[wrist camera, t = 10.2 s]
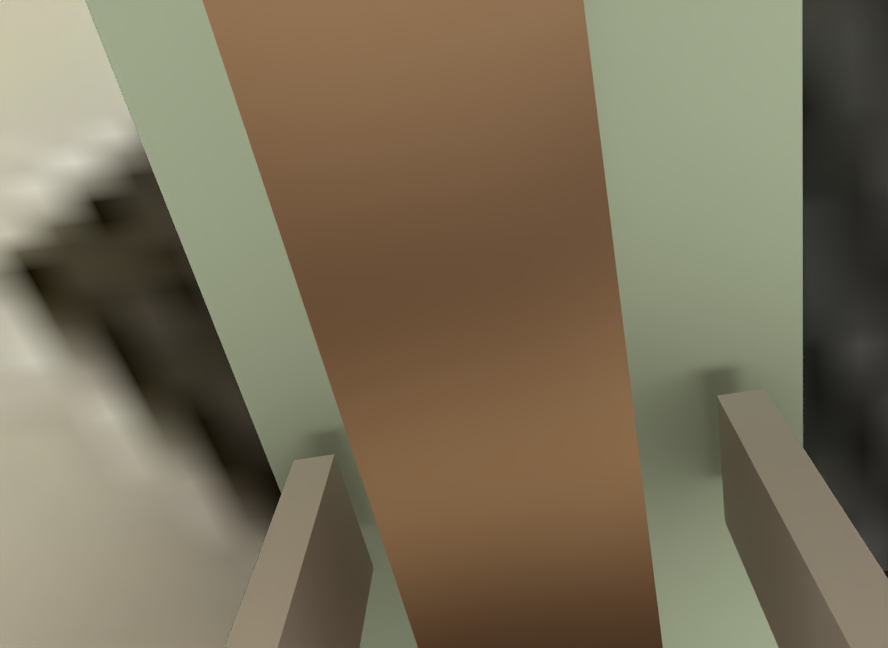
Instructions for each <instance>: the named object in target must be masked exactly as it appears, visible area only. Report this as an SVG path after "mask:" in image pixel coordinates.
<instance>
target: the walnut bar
mask: <svg viewBox="0 0 888 648" xmlns="http://www.w3.org/2000/svg"><path fill="white" fill-rule="evenodd" d="M202 1H203V4H204V7H205V10H206V13H207V16H208V19H209V22H210V25H211V28H212V31H213V34H214V37H215V40H216V43H217V46H218V49H219V52H220V55H221V58H222V61H223V64H224V67H225V70H226V73H227V76H228V79H229V82H230V85H231V88H232V91H233V94H234V97H235V100H236V103H237V106H238V109H239V112H240V115H241V118H242V121H243V124H244V127H245V130H246V133H247V136H248V139H249V142H250V145H251V148H252V151H253V154H254V157H255V160H256V163H257V166H258V169H259V172H260V175H261V178H262V181H263V184H264V187H265V190H266V193H267V196H268V199H269V202H270V205H271V208H272V211H273V214H274V217H275V220H276V223H277V226H278V229H279V232H280V235H281V238H282V241H283V244H284V247H285V250H286V253H287V256H288V259H289V262H290V265H291V268H292V271H293V274H294V277H295V280H296V283H297V286H298V289H299V292H300V295H301V298H302V301H303V304H304V307H305V310H306V313H307V316H308V319H309V322H310V325H311V328H312V331H313V334H314V337H315V340H316V343H317V346H318V349H319V352H320V355H321V358H322V361H323V364H324V367H325V370H326V373H327V376H328V379H329V382H330V385H331V388H332V391H333V394H334V397H335V400H336V403H337V406H338V409H339V412H340V415H341V418H342V421H343V424H344V427H345V430H346V433H347V436H348V439H349V442H350V445H351V448H352V451H353V454H354V457H355V460H356V463H357V466H358V469H359V472H360V475H361V478H362V481H363V484H364V487H365V490H366V493H367V496H368V499H369V502H370V505H371V508H372V511H373V514H374V517H375V520H376V523H377V526H378V529H379V532H380V535H381V538H382V541H383V544H384V547H385V550H386V553H387V556H388V559H389V562H390V565H391V568H392V571H393V574H394V577H395V580H396V583H397V586H398V589H399V592H400V595H401V598H402V601H403V604H404V607H405V610H406V613H407V616H408V619H409V622H410V625H411V628H412V631H413V634H414V637H415V640H416V643H417V646H418V648H663V645H662V636H661V628H660V620H659V612H658V604H657V596H656V587H655V579H654V571H653V563H652V555H651V547H650V539H649V530H648V522H647V514H646V506H645V498H644V490H643V481H642V473H641V465H640V457H639V449H638V441H637V433H636V424H635V416H634V408H633V400H632V392H631V384H630V376H629V367H628V359H627V351H626V343H625V335H624V327H623V318H622V310H621V302H620V294H619V286H618V278H617V270H616V261H615V253H614V245H613V237H612V229H611V221H610V213H609V204H608V196H607V188H606V180H605V172H604V164H603V155H602V147H601V139H600V131H599V123H598V115H597V107H596V98H595V90H594V82H593V74H592V66H591V58H590V50H589V41H588V33H587V25H586V17H585V9H584V1H583V0H202Z"/></svg>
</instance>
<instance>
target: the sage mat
mask: <svg viewBox="0 0 888 648" xmlns="http://www.w3.org/2000/svg"><path fill="white" fill-rule="evenodd" d="M85 1H86V4H87V6H88V9H89V11H90V14H91V16H92V19H93V22H94V24H95V27H96V29H97V32H98V34H99V37H100V39H101V42H102V44H103V47H104V49H105V52H106V54H107V57H108V59H109V62H110V64H111V67H112V69H113V72H114V74H115V77H116V79H117V82H118V84H119V87H120V89H121V92H122V94H123V97H124V99H125V102H126V104H127V107H128V109H129V112H130V115H131V117H132V120H133V122H134V125H135V127H136V130H137V132H138V135H139V137H140V140H141V142H142V145H143V147H144V150H145V152H146V155H147V157H148V160H149V162H150V165H151V167H152V170H153V172H154V175H155V177H156V180H157V182H158V185H159V187H160V190H161V192H162V195H163V197H164V200H165V203H166V205H167V208H168V210H169V213H170V215H171V218H172V220H173V223H174V225H175V228H176V230H177V233H178V235H179V238H180V240H181V243H182V245H183V248H184V250H185V253H186V255H187V258H188V260H189V263H190V265H191V268H192V270H193V273H194V275H195V278H196V280H197V283H198V285H199V288H200V290H201V293H202V296H203V298H204V301H205V303H206V306H207V308H208V311H209V313H210V316H211V318H212V321H213V323H214V326H215V328H216V331H217V333H218V336H219V338H220V341H221V343H222V346H223V348H224V351H225V353H226V356H227V358H228V361H229V363H230V366H231V368H232V371H233V373H234V376H235V378H236V381H237V384H238V386H239V389H240V391H241V394H242V396H243V399H244V401H245V404H246V406H247V409H248V411H249V414H250V416H251V419H252V421H253V424H254V426H255V429H256V431H257V434H258V436H259V439H260V441H261V444H262V446H263V449H264V451H265V454H266V456H267V459H268V461H269V464H270V466H271V469H272V471H273V474H274V477H275V479H276V482H277V484H278V487H279V489H280V492H281V494H282V491H283V488H284V486H285V483H286V480H287V478H288V475H289V472H290V469H291V467H292V464H293V461H294V460H299V459H306V458H312V457H319V456H325V455H332V454H335V457H336V460H337V463H338V466H339V469H340V472H341V474H342V477H343V480H344V483H345V486H346V489H347V492H348V495H349V497H350V500H351V503H352V506H353V509H354V512H355V515H356V518H357V521H358V523H359V526H360V529H361V532H362V535H363V538H364V541H365V544H366V546H367V549H368V552H369V555H370V558H371V561H372V564H373V567H374V568H373V574H372V579H371V585H370V591H369V596H368V602H367V608H366V613H365V619H364V625H363V630H362V636H361V642H360V648H418V646H417V643H416V640H415V637H414V634H413V631H412V628H411V625H410V622H409V619H408V616H407V613H406V610H405V607H404V604H403V601H402V598H401V595H400V592H399V589H398V586H397V583H396V580H395V577H394V574H393V571H392V568H391V565H390V562H389V559H388V556H387V553H386V550H385V547H384V544H383V541H382V538H381V535H380V532H379V529H378V526H377V523H376V520H375V517H374V514H373V511H372V508H371V505H370V502H369V499H368V496H367V493H366V490H365V487H364V484H363V481H362V478H361V475H360V472H359V469H358V466H357V463H356V460H355V457H354V454H353V451H352V448H351V445H350V442H349V439H348V436H347V433H346V430H345V427H344V424H343V421H342V418H341V415H340V412H339V409H338V406H337V403H336V400H335V397H334V394H333V391H332V388H331V385H330V382H329V379H328V376H327V373H326V370H325V367H324V364H323V361H322V358H321V355H320V352H319V349H318V346H317V343H316V340H315V337H314V334H313V331H312V328H311V325H310V322H309V319H308V316H307V313H306V310H305V307H304V304H303V301H302V298H301V295H300V292H299V289H298V286H297V283H296V280H295V277H294V274H293V271H292V268H291V265H290V262H289V259H288V256H287V253H286V250H285V247H284V244H283V241H282V238H281V235H280V232H279V229H278V226H277V223H276V220H275V217H274V214H273V211H272V208H271V205H270V202H269V199H268V196H267V193H266V190H265V187H264V184H263V181H262V178H261V175H260V172H259V169H258V166H257V163H256V160H255V157H254V154H253V151H252V148H251V145H250V142H249V139H248V136H247V133H246V130H245V127H244V124H243V121H242V118H241V115H240V112H239V109H238V106H237V103H236V100H235V97H234V94H233V91H232V88H231V85H230V82H229V79H228V76H227V73H226V70H225V67H224V64H223V61H222V58H221V55H220V52H219V49H218V46H217V43H216V40H215V37H214V34H213V31H212V28H211V25H210V22H209V19H208V16H207V13H206V10H205V7H204V4H203V1H202V0H85ZM583 1H584V9H585V17H586V25H587V33H588V41H589V50H590V58H591V66H592V74H593V82H594V90H595V98H596V107H597V115H598V123H599V131H600V139H601V147H602V155H603V164H604V172H605V180H606V188H607V196H608V204H609V213H610V221H611V229H612V237H613V245H614V253H615V261H616V270H617V278H618V286H619V294H620V302H621V310H622V318H623V327H624V335H625V343H626V351H627V359H628V367H629V376H630V384H631V392H632V400H633V408H634V416H635V424H636V433H637V441H638V449H639V457H640V465H641V473H642V481H643V490H644V498H645V506H646V514H647V522H648V530H649V539H650V547H651V555H652V563H653V571H654V579H655V587H656V596H657V604H658V612H659V620H660V628H661V636H662V645H663V648H779V647H778V645H777V643H776V640H775V638H774V636H773V633H772V631H771V629H770V626H769V624H768V621H767V619H766V617H765V614H764V612H763V610H762V607H761V605H760V603H759V600H758V598H757V596H756V593H755V591H754V589H753V586H752V584H751V582H750V579H749V577H748V575H747V572H746V570H745V568H744V565H743V563H742V561H741V558H740V556H739V554H738V551H737V549H736V547H735V544H734V542H733V540H732V537H731V535H730V532H729V530H728V528H727V525H726V523H725V516H724V500H723V484H722V468H721V452H720V436H719V420H718V404H717V396H719V395H725V394H732V393H739V392H745V391H752V390H758V389H765V390H766V391H767V393H768V395H769V396H770V398H771V399H772V401H773V402H774V404H775V405H776V407H777V408H778V410H779V411H780V413H781V415H782V416H783V418H784V419H785V421H786V422H787V424H788V425H789V427H790V428H791V430H792V432H793V433H794V435H795V436H796V438H797V439H798V441H799V442H800V444H801V445H802V447H803V190H802V0H583Z"/></svg>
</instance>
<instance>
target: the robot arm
mask: <svg viewBox="0 0 888 648" xmlns="http://www.w3.org/2000/svg"><path fill="white" fill-rule="evenodd" d="M717 404H718V420H719V436H720V452H721V468H722V484H723V500H724V516H725V523H726V525H727V528H728V530H729V532H730V535H731V537H732V540H733V542H734V544H735V547H736V549H737V551H738V554H739V556H740V558H741V561H742V563H743V565H744V568H745V570H746V572H747V575H748V577H749V579H750V582H751V584H752V586H753V589H754V591H755V593H756V596H757V598H758V600H759V603H760V605H761V607H762V610H763V612H764V614H765V617H766V619H767V621H768V624H769V626H770V629H771V631H772V633H773V636H774V638H775V640H776V643H777V645H778V647H779V648H888V571H885V572H883V570H882V569H881V567H880V566H879V564H878V563H877V561H876V560H875V558H874V556H873V555H872V553H871V552H870V550H869V549H868V547H867V546H866V544H865V543H864V541H863V539H862V538H861V536H860V535H859V533H858V532H857V530H856V529H855V527H854V526H853V524H852V523H851V521H850V519H849V518H848V516H847V515H846V513H845V512H844V510H843V509H842V507H841V506H840V504H839V502H838V501H837V499H836V498H835V496H834V495H833V493H832V492H831V490H830V489H829V487H828V486H827V484H826V482H825V481H824V479H823V478H822V476H821V475H820V473H819V472H818V470H817V469H816V467H815V465H814V464H813V462H812V461H811V459H810V458H809V456H808V455H807V453H806V452H805V450H804V449H803V447H802V445H801V444H800V442H799V441H798V439H797V438H796V436H795V435H794V433H793V432H792V430H791V428H790V427H789V425H788V424H787V422H786V421H785V419H784V418H783V416H782V415H781V413H780V411H779V410H778V408H777V407H776V405H775V404H774V402H773V401H772V399H771V398H770V396H769V395H768V393H767V391H766V390H765V389H758V390H752V391H745V392H739V393H732V394H725V395H719V396H717ZM373 568H374V567H373V564H372V561H371V558H370V555H369V552H368V549H367V546H366V544H365V541H364V538H363V535H362V532H361V529H360V526H359V523H358V521H357V518H356V515H355V512H354V509H353V506H352V503H351V500H350V497H349V495H348V492H347V489H346V486H345V483H344V480H343V477H342V474H341V472H340V469H339V466H338V463H337V460H336V457H335V454H332V455H325V456H319V457H312V458H306V459H299V460H294V461H293V464H292V467H291V469H290V472H289V475H288V478H287V480H286V483H285V486H284V488H283V491H282V494H281V496H280V499H279V502H278V505H277V507H276V510H275V513H274V515H273V518H272V521H271V523H270V526H269V529H268V532H267V534H266V537H265V540H264V542H263V545H262V548H261V550H260V553H259V556H258V559H257V561H256V564H255V567H254V569H253V572H252V575H251V577H250V580H249V583H248V586H247V588H246V591H245V594H244V596H243V599H242V602H241V605H240V607H239V610H238V613H237V615H236V618H235V621H234V623H233V626H232V629H231V632H230V634H229V637H228V640H227V642H226V645H225V648H360V642H361V636H362V630H363V625H364V619H365V613H366V608H367V602H368V596H369V591H370V585H371V579H372V574H373Z"/></svg>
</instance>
